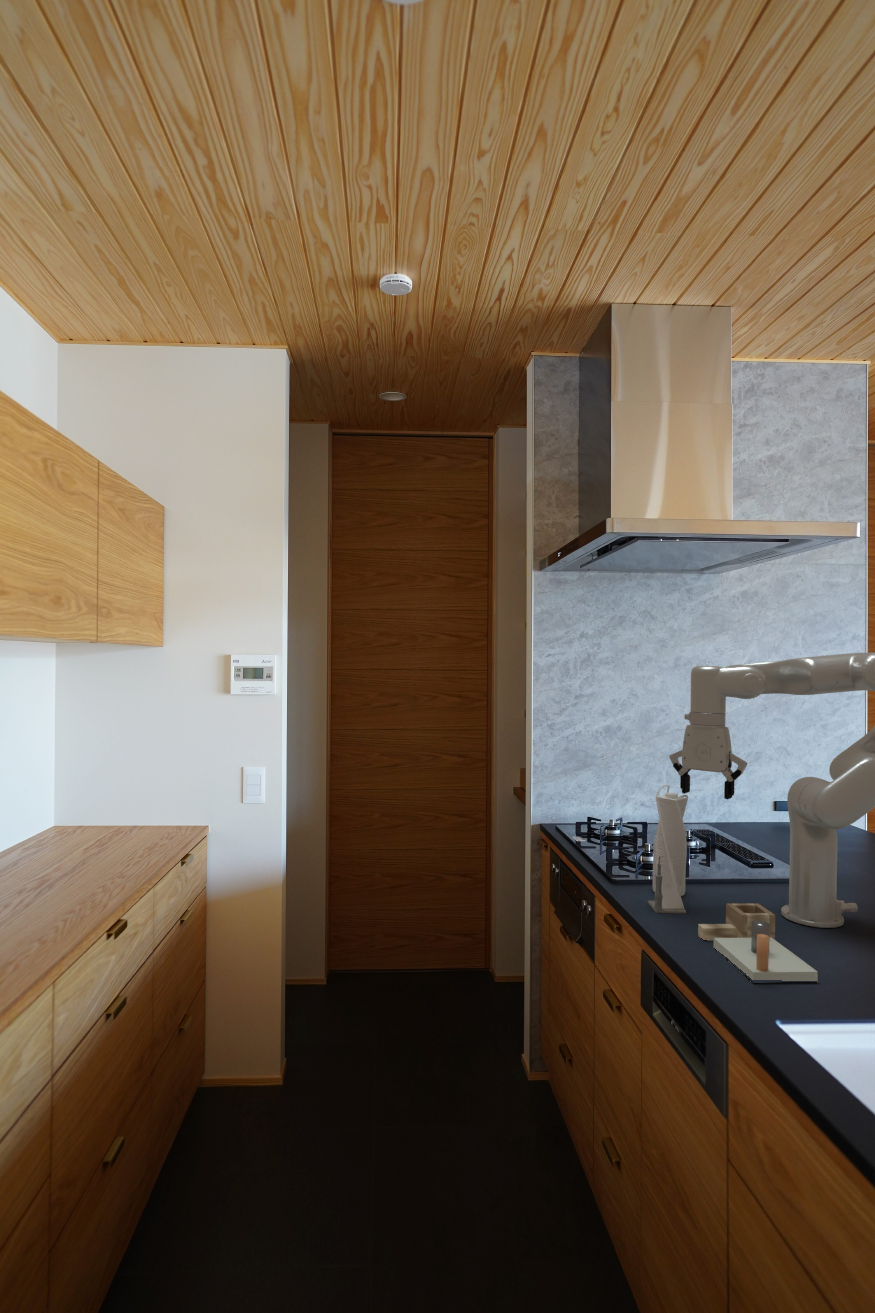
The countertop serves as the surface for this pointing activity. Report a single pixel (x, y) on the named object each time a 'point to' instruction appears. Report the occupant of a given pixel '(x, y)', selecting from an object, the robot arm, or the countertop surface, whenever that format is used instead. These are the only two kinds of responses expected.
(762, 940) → the dowel
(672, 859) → the skyscraper
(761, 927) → the post
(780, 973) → the board
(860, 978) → the countertop surface
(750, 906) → the open wooden box
